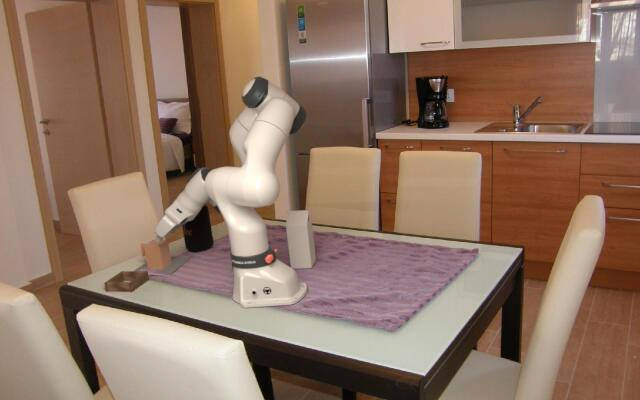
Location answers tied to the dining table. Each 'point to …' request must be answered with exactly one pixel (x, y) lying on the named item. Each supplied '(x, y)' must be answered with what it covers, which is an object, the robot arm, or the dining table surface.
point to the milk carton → (300, 239)
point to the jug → (156, 254)
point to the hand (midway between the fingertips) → (164, 236)
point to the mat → (171, 268)
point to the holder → (119, 286)
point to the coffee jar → (198, 232)
